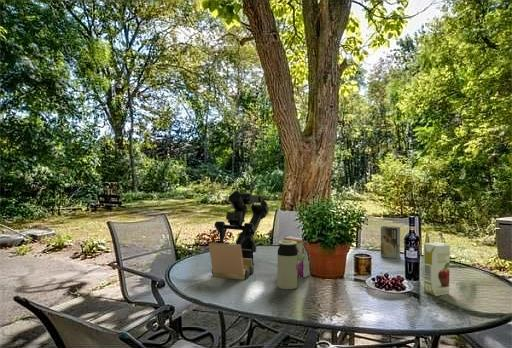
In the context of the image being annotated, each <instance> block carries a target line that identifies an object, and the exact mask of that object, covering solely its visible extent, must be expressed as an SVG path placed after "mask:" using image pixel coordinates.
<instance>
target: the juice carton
mask: <svg viewBox="0 0 512 348" xmlns="http://www.w3.org/2000/svg"><path fill="white" fill-rule="evenodd" d="M450 248H451V244H448V243H446V242H445V243H444V242H439V241H434V242H424V243H423V265H422V267H423V270H422V273H423V275H422V280H423V281H422V285H423V286H422V287H423V289H422V291H423V292H424V291H425V292H424V293H426V292H427V294H429V293H430V294H429V295H431V294H432V296H434V295H435V296H434V297H441V296H447V295H449V294H450V266H451V265H450V264H451V263H450V262H451V259H450V257H451V251H450V250H451V249H450ZM440 295H441V296H440Z"/></svg>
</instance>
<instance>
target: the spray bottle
mask: <svg viewBox="0 0 512 348" xmlns="http://www.w3.org/2000/svg"><path fill="white" fill-rule="evenodd" d="M283 240H290V241H296V242H297V244H296V248H297V250H298V264H297V276H300V277H299V278H301V277H305V276H307V275H309V276H310V260H309V261H308V256H307V253H306V251H305V248H304V243H303V241H302V238H301V237H296V236H291V235H290V236H285V237H283ZM305 278H306V277H305Z"/></svg>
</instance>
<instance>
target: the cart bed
mask: <svg viewBox="0 0 512 348" xmlns="http://www.w3.org/2000/svg"><path fill="white" fill-rule="evenodd" d="M243 267H244V275H238V274H226V273H215V272H213V271H212V270H211V274H212V277H213V278H219V279H220V278H223V279H231V280H232V279H233V280H245V279H249V278H250V275H253V274H254V272H255V267H254V265H252V259H248V258H243Z"/></svg>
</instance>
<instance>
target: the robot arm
mask: <svg viewBox="0 0 512 348" xmlns="http://www.w3.org/2000/svg"><path fill="white" fill-rule="evenodd" d="M228 200H229V203H230V204H231V207H232V209H234V210H233V212H232V211H227V212H226V217H225V220H227V223H228V224H226V223H225V221H223V220H222V221H219V220H216V221H215V223H214V228H215V230H216V231H217V232H218V233H219V243H222V244H223V241H224V239H225V236H226V234H227V230H234V231H240V232H239V235H238V236H237V239H236V241H235V244H237V245H241V249H242V258H248V259H252V266H254V265H255V263H254V253H257V245H256V242H255V239H254V237H255V234H256V232H257V229H258V228H259V225H260V223H261V221H262V220H263V219H265V218H266V217H267V216H268V214H269V211H270V210H269V205H268V202H267V201H265V200H264V198H263V196H262V195H257V194H256V195H255V194H254V195H253V193H250V192H240V191H239V190H234V192H233V193H230V194H229V196H228ZM255 203H256V204H255ZM247 206H250V209H251V212H252V216H251V218H250V221H249V222H245V221H246V220H245V217H246V214H247V213H248V212H249V211H248V207H247Z"/></svg>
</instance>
